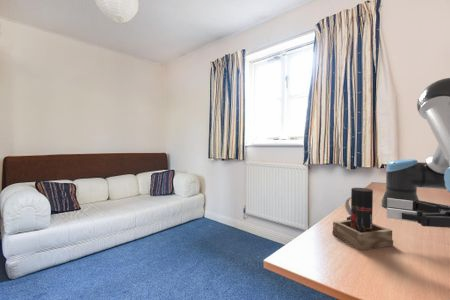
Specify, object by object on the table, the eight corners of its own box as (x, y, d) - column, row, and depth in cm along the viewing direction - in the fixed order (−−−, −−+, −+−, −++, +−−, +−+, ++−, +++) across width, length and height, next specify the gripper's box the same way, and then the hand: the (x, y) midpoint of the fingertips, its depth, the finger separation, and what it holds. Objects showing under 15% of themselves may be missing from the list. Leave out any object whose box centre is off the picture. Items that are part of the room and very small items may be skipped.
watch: (364, 230, 82) (364, 200, 81) (342, 224, 88) (342, 196, 88) (371, 227, 85) (371, 198, 84) (349, 221, 91) (349, 194, 91)
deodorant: (372, 240, 70) (373, 192, 69) (350, 236, 73) (350, 190, 73) (371, 233, 75) (372, 188, 74) (351, 230, 78) (351, 187, 78)
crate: (360, 230, 81) (360, 218, 81) (393, 245, 70) (393, 230, 70) (332, 234, 78) (332, 221, 78) (361, 250, 67) (361, 235, 67)
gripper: (510, 255, 47) (386, 232, 60) (474, 221, 67) (387, 209, 80) (511, 219, 47) (386, 203, 60) (475, 196, 67) (387, 188, 80)
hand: (386, 207), depth 70 cm, fingers open, 13 cm apart
